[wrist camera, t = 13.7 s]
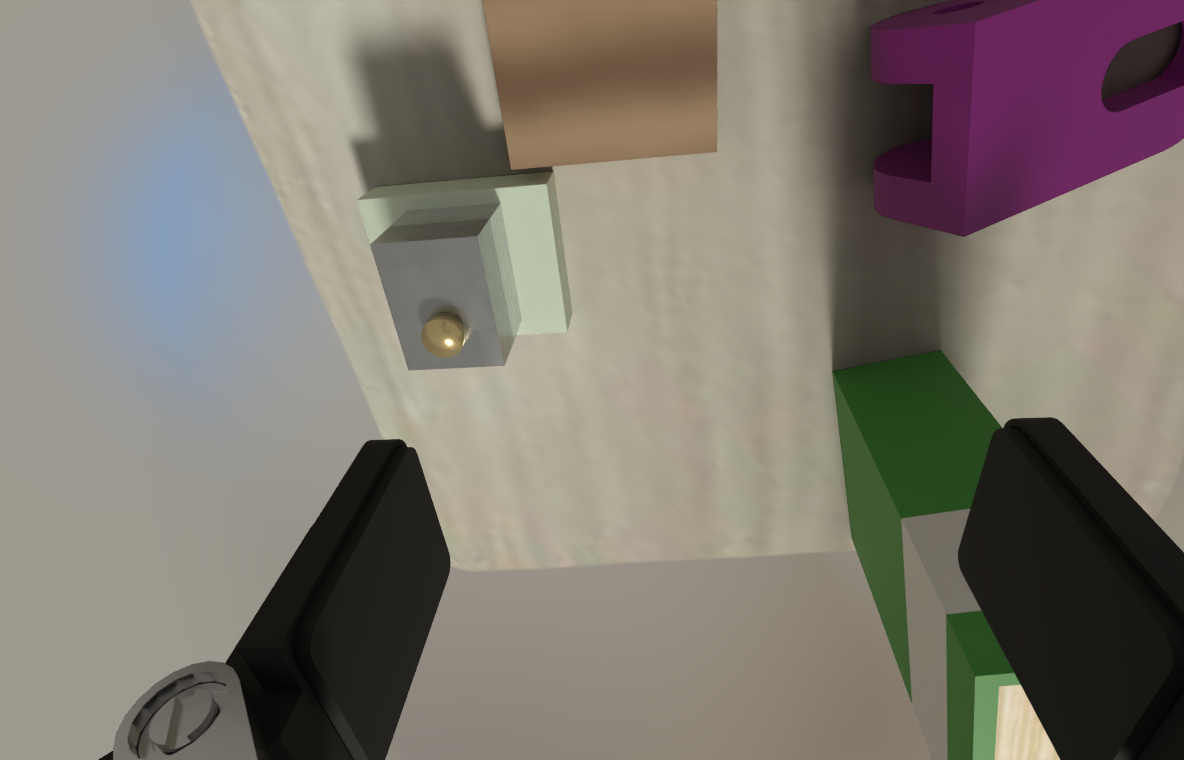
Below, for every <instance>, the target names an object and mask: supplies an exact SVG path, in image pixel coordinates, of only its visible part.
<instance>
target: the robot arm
mask: <svg viewBox="0 0 1184 760" xmlns="http://www.w3.org/2000/svg"><path fill="white" fill-rule="evenodd" d="M958 563H959V567H960V570H961V572H962V575H963V577H964V578H965V580H966V582H967V584H968V586H969V588H970V590H971V592H972V594H973V595H974V597H975V599H976V601H977V603H978V605H979V607H980V609H981V611H982V613H983V614H984V616H985V618H986V620H987V622H988V624H989V626H990V628H991V630H992V631H993V633H994V635H995V637H996V639H997V641H998V643H999V645H1000V647H1001V649H1002V650H1003V652H1004V654H1005V656H1006V658H1007V660H1008V662H1009V664H1010V666H1011V667H1012V669H1013V671H1014V673H1015V675H1016V677H1017V679H1018V681H1019V683H1020V684H1021V686H1022V688H1023V690H1024V692H1025V694H1026V696H1027V698H1028V700H1029V702H1030V703H1031V705H1032V707H1033V709H1034V711H1035V713H1036V715H1037V717H1038V719H1039V720H1040V722H1041V724H1042V726H1043V728H1044V730H1045V732H1046V734H1047V736H1048V738H1049V739H1050V741H1051V743H1052V745H1053V747H1054V749H1055V751H1056V753H1057V755H1058V756H1059V758H1060V760H1184V552H1183V551H1182V550H1181V549H1180V548H1179V547H1178V546H1177V545H1176V544H1175V543H1174V542H1173V541H1172V540H1171V539H1170V537H1169V536H1168V535H1167V534H1166V533H1165V532H1164V531H1163V530H1162V529H1161V528H1160V527H1159V526H1158V525H1157V524H1156V523H1155V521H1154V520H1153V519H1152V518H1151V517H1150V516H1149V515H1148V514H1147V513H1146V512H1145V511H1144V510H1143V509H1142V508H1141V507H1140V506H1139V504H1138V503H1137V502H1136V501H1135V500H1134V499H1133V498H1132V497H1131V496H1130V495H1129V494H1128V493H1127V492H1126V491H1125V490H1124V488H1123V487H1122V486H1121V485H1120V484H1119V483H1118V482H1117V481H1116V480H1115V479H1114V478H1113V477H1112V476H1111V475H1110V474H1109V473H1108V471H1107V470H1106V469H1105V468H1104V467H1103V466H1102V465H1101V464H1100V463H1099V462H1098V461H1097V460H1096V459H1095V458H1094V457H1093V455H1092V454H1091V453H1090V452H1089V451H1088V450H1087V449H1086V448H1085V447H1084V446H1083V445H1082V444H1081V443H1080V442H1079V441H1078V439H1077V438H1076V437H1075V436H1074V435H1073V434H1072V433H1071V432H1070V431H1069V430H1068V429H1067V428H1066V427H1065V426H1064V425H1063V424H1062V423H1061V422H1060V421H1059V420H1058V419H1055V418H1051V417H1049V418H1019V419H1011V420H1009V421H1008V422H1007V423H1006V424H1005V426H1004V428H1001V429H996V430H995V431H994V433H993V435H992V437H991V441H990V444H989V448H988V451H987V454H986V458H985V461H984V464H983V468H982V471H981V474H980V478H979V481H978V485H977V488H976V491H975V495H974V498H973V501H972V505H971V508H970V511H969V515H968V518H967V522H966V525H965V528H964V532H963V535H962V538H961V542H960V545H959V549H958ZM449 572H450V555H449V551H448V548H447V545H446V542H445V539H444V536H443V532H442V529H441V526H440V523H439V520H438V517H437V514H436V511H435V508H434V505H433V501H432V498H431V495H430V492H429V489H428V486H427V483H426V480H425V477H424V473H423V470H422V467H421V464H420V461H419V458H418V455H417V452H416V450H415V449H414V448H412V447H407V446H406V443H405V442H404V441H403V440H400V439H392V440H370V441H367V442H366V443H365V444H364V446H363V447H362V448H361V450H360V452H359V453H358V455H357V456H356V458H355V459H354V461H353V463H352V464H351V466H350V467H349V469H348V471H347V472H346V474H345V475H344V477H343V479H342V480H341V482H340V483H339V485H338V487H337V488H336V490H335V491H334V493H333V495H332V496H331V498H330V499H329V501H328V502H327V504H326V506H325V507H324V509H323V510H322V512H321V513H320V515H319V517H318V518H317V520H316V522H315V523H314V524H313V526H312V527H311V528H310V530H309V531H308V533H307V534H306V536H305V537H304V539H303V541H302V542H301V544H300V545H299V547H298V549H297V550H296V552H295V553H294V555H293V557H292V558H291V560H290V561H289V563H288V564H287V566H286V568H285V569H284V571H283V572H282V574H281V576H280V577H279V579H278V580H277V582H276V583H275V585H274V587H273V588H272V590H271V592H270V593H269V595H268V596H267V598H266V599H265V601H264V602H263V604H262V606H261V607H260V609H259V610H258V612H257V614H256V615H255V617H254V619H253V620H252V622H251V623H250V625H249V626H248V628H247V629H246V631H245V633H244V634H243V636H242V637H241V639H240V641H239V642H238V644H237V645H236V647H235V649H234V650H233V652H232V653H231V655H230V656H229V658H228V660H227V661H226V663H222V662H213V661H207V662H201V663H196V664H192V665H190V666H187V667H185V668H182V669H180V670H177V671H175V672H173V673H171V674H170V675H168V676H167V677H165V678H164V679H162V680H160V681H159V682H157V683H156V684H155V685H153V686H152V687H151V688H150V689H149V690H148V691H147V692H146V693H145V694H143V695H142V696H141V697H140V698H139V699H138V700H137V701H136V703H135V704H134V705H133V706H132V708H131V709H130V710H129V711H128V713H127V714H126V715H125V717H124V719H123V721H122V723H121V725H120V726H119V729H118V731H117V732H116V736H115V742H114V748H113V751H112V752H110V753H108V754H107V755H105V756H104V757H102V758H100V759H99V760H385V758H386V755H387V753H388V750H389V747H390V744H391V741H392V738H393V735H394V733H395V730H396V727H397V724H398V721H399V718H400V715H401V712H402V709H403V706H404V704H405V701H406V698H407V695H408V691H409V689H410V686H411V683H412V680H413V677H414V675H415V672H416V669H417V665H418V663H419V660H420V657H421V654H422V651H423V648H424V646H425V643H426V640H427V637H428V633H429V631H430V628H431V625H432V622H433V619H434V617H435V614H436V611H437V608H438V605H439V602H440V599H441V596H442V593H443V590H444V587H445V585H446V582H447V579H448V576H449Z"/></svg>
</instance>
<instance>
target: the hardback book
mask: <svg viewBox="0 0 1184 760" xmlns="http://www.w3.org/2000/svg"><path fill="white" fill-rule="evenodd" d="M832 373H833V382H834V390H835V399H836V407H837V416H838V425H839V433H840V442H841V450H842V459H843V467H844V476H845V484H846V493H847V502H848V510H849V519H850V527H851V536H852V540H853V543H854V545H855V548H856V551H857V554H858V556H859V559H860V562H861V565H862V568H863V570H864V573H865V575H866V579H867V581H868V584H869V587H870V590H871V592H872V595H873V598H874V601H875V603H876V606H877V609H878V612H879V614H880V617H881V620H882V623H883V625H884V628H885V631H886V634H887V636H888V639H889V642H890V645H891V648H892V650H893V653H894V656H895V659H896V661H897V664H898V667H899V670H900V672H901V675H902V678H903V681H904V683H905V686H906V689H907V692H908V694H909V697H910V700H911V703H912V705H913V708H914V711H915V714H916V716H917V719H918V722H919V725H920V727H921V730H922V733H923V736H924V738H925V741H926V744H927V747H928V750H929V752H930V755H931V758H932V760H1060V758H1059V756H1058V755H1057V753H1056V751H1055V749H1054V747H1053V745H1052V743H1051V741H1050V739H1049V738H1048V736H1047V734H1046V732H1045V730H1044V728H1043V726H1042V724H1041V722H1040V720H1039V719H1038V717H1037V715H1036V713H1035V711H1034V709H1033V707H1032V705H1031V703H1030V702H1029V700H1028V698H1027V696H1026V694H1025V692H1024V690H1023V688H1022V686H1021V684H1020V683H1019V681H1018V679H1017V677H1016V675H1015V673H1014V671H1013V669H1012V667H1011V666H1010V664H1009V662H1008V660H1007V658H1006V656H1005V654H1004V652H1003V650H1002V649H1001V647H1000V645H999V643H998V641H997V639H996V637H995V635H994V633H993V631H992V630H991V628H990V626H989V624H988V622H987V620H986V618H985V616H984V614H983V613H982V611H981V609H980V607H979V605H978V603H977V601H976V599H975V597H974V595H973V594H972V592H971V590H970V588H969V586H968V584H967V582H966V580H965V578H964V577H963V575H962V572H961V570H960V567H959V563H958V549H959V545H960V542H961V538H962V535H963V532H964V528H965V525H966V522H967V518H968V515H969V511H970V508H971V505H972V501H973V498H974V495H975V491H976V488H977V485H978V481H979V478H980V474H981V471H982V468H983V464H984V461H985V458H986V454H987V451H988V448H989V444H990V441H991V437H992V435H993V433H994V431H995V430H996V429H1001V428H1002V427H1001V426H1000V424H999V423H998V422H997V421H996V419H995V418H994V417H993V416H992V414H991V413H990V412H989V411H988V409H987V408H986V407H985V406H984V404H983V403H982V402H981V401H980V399H979V398H978V397H977V395H976V394H975V393H974V392H973V390H972V389H971V388H970V387H969V385H968V384H967V383H966V382H965V380H964V379H963V378H962V377H961V375H960V374H959V373H958V372H957V370H956V369H955V368H954V367H953V365H952V364H951V363H950V361H949V360H948V359H947V358H946V356H945V355H944V354H943V353H942V351H941V350H939V351H934V352H929V353H924V354H919V355H914V356H909V357H904V358H899V359H894V360H889V361H884V362H879V363H874V364H869V365H863V366H858V367H853V368H848V369H843V370H838V371H833V372H832Z"/></svg>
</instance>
